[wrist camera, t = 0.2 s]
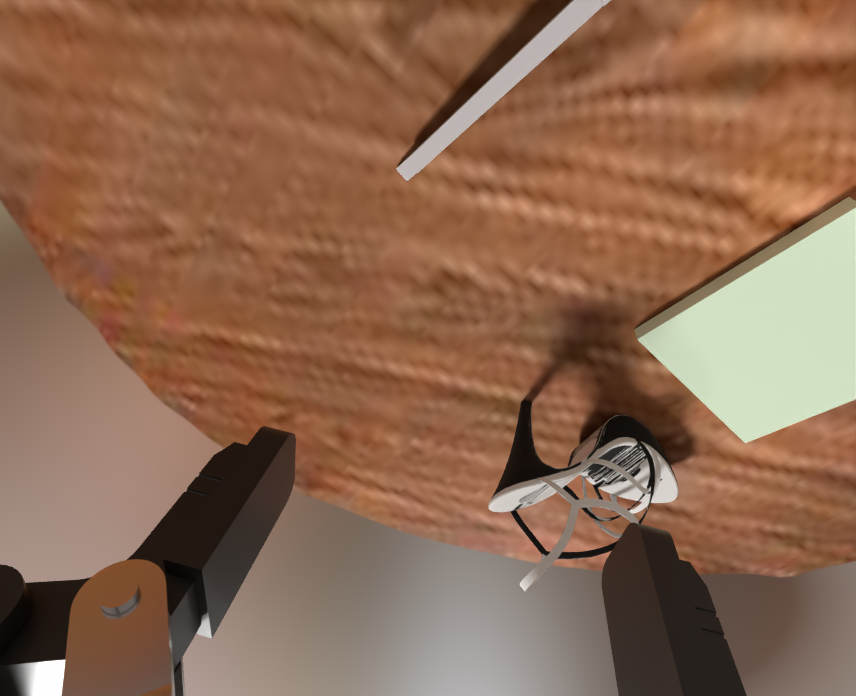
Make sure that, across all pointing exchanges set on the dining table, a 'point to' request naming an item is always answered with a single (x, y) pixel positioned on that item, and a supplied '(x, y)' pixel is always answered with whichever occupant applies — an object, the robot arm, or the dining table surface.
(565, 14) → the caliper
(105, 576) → the robot arm
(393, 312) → the dining table surface
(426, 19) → the dining table surface
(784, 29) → the dining table surface
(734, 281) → the base plate
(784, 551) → the dining table surface
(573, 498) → the sandal
